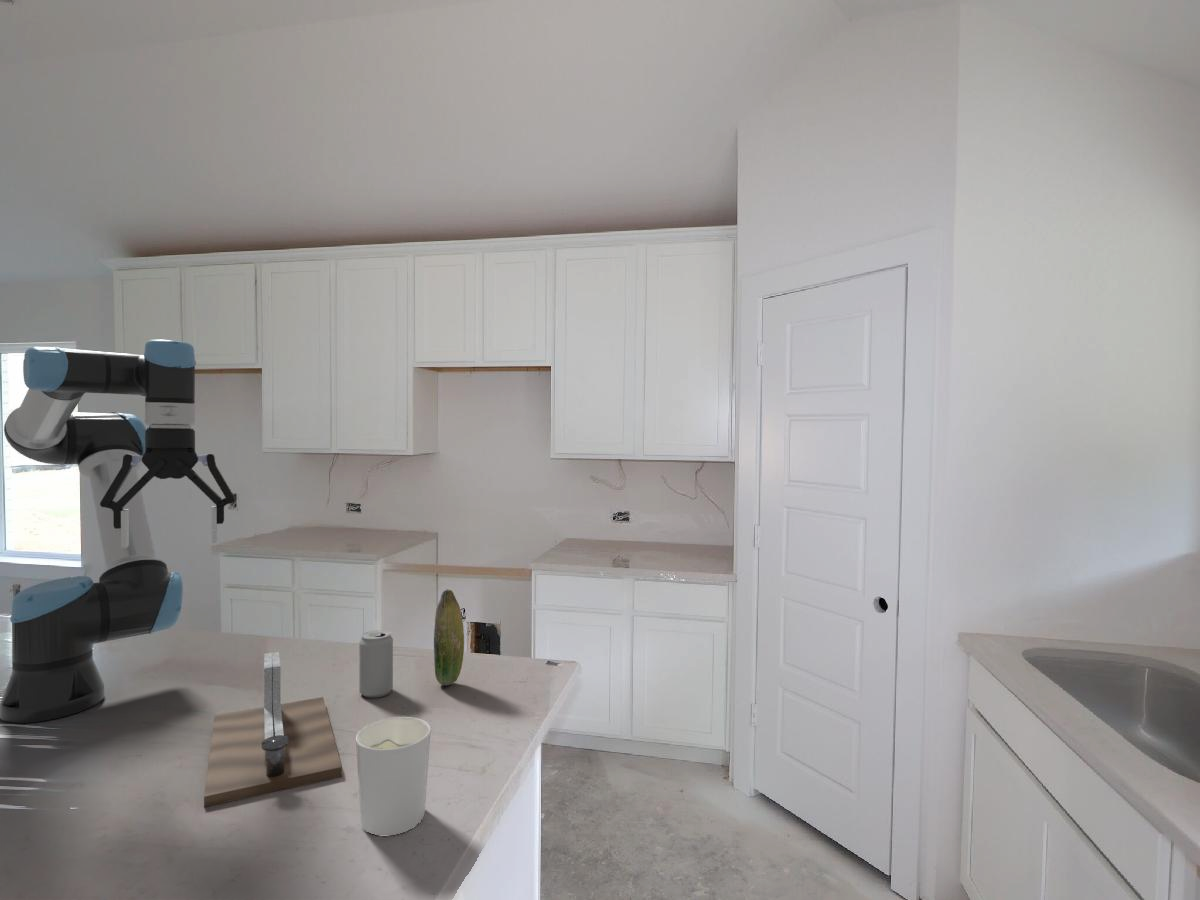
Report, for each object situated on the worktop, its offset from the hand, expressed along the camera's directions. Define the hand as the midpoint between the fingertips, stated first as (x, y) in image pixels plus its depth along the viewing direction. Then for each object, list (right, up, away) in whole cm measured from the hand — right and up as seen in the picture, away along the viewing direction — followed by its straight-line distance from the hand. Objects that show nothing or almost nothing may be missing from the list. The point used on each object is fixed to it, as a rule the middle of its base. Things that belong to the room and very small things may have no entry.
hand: (171, 544), depth 118 cm
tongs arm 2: (+24, -30, -8) cm, 39 cm away
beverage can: (+33, -32, +13) cm, 48 cm away
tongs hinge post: (+29, -31, -21) cm, 48 cm away
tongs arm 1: (+22, -30, -9) cm, 39 cm away
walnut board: (+24, -32, -10) cm, 41 cm away
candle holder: (+50, -34, -29) cm, 66 cm away
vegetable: (+46, -32, +17) cm, 59 cm away
